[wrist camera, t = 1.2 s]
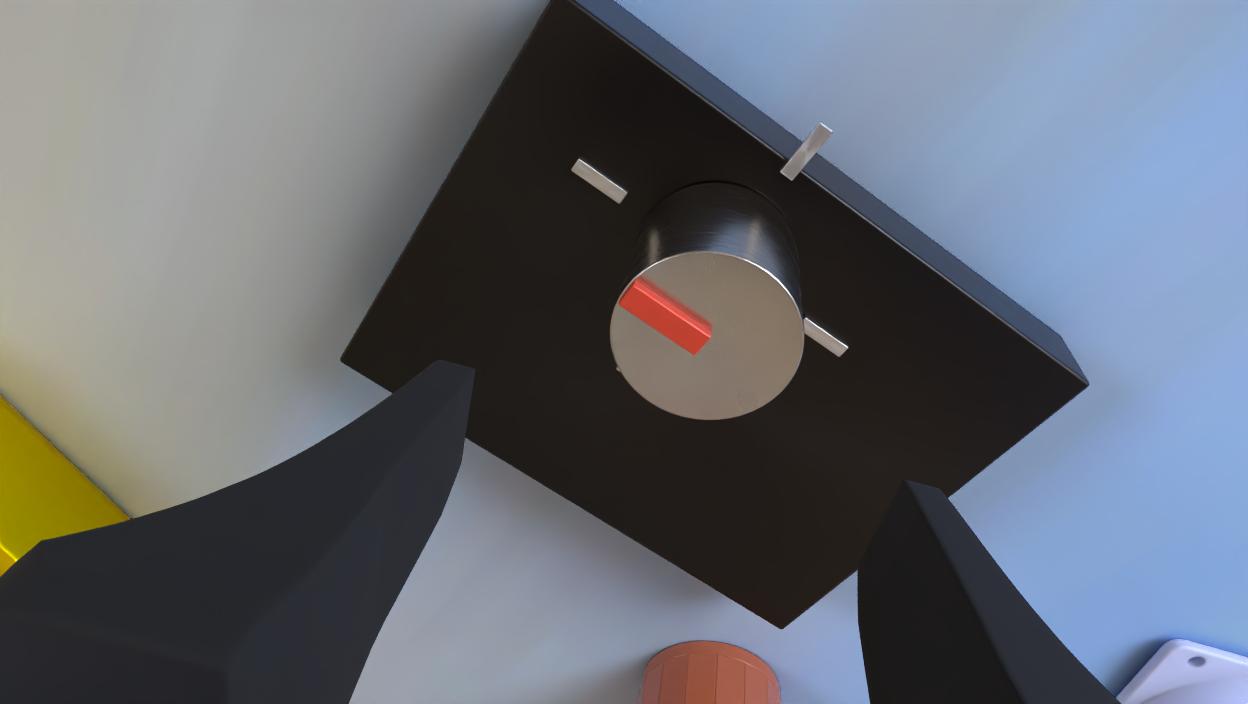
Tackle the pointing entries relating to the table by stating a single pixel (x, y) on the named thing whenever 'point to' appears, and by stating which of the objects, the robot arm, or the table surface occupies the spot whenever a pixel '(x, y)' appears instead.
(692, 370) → the dial
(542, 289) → the warming plate
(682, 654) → the orange stave barrel
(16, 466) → the element tile
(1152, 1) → the table surface
